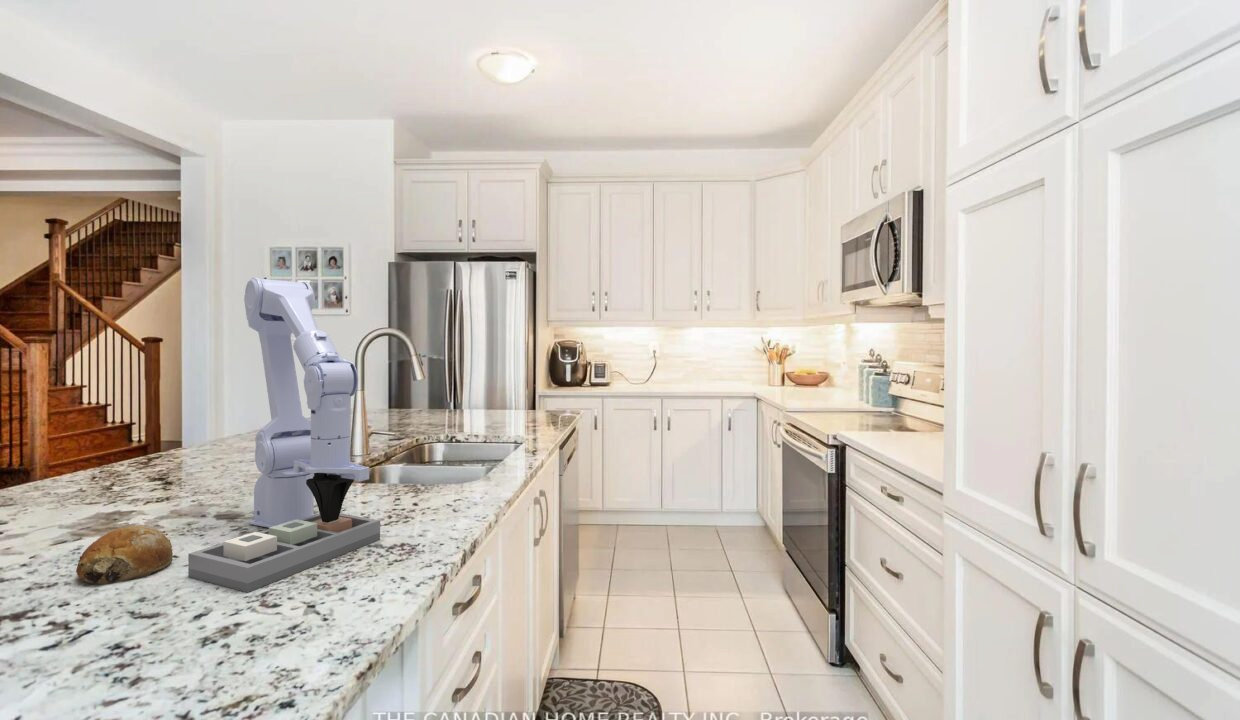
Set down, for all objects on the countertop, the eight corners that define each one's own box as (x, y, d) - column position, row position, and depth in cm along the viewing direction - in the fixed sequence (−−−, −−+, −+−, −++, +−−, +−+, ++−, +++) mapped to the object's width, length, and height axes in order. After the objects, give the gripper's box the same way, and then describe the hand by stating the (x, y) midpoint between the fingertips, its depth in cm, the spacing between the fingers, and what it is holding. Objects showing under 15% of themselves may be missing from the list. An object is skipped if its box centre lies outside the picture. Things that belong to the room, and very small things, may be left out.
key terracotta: (307, 535, 89) (307, 522, 89) (331, 527, 93) (331, 514, 93) (328, 539, 87) (328, 526, 87) (351, 531, 92) (352, 518, 92)
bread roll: (175, 593, 80) (201, 535, 83) (97, 588, 71) (128, 523, 74) (130, 582, 83) (155, 527, 86) (49, 576, 74) (81, 515, 77)
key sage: (268, 541, 83) (268, 527, 83) (296, 532, 87) (296, 518, 87) (290, 545, 81) (290, 531, 81) (317, 536, 86) (317, 522, 86)
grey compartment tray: (188, 576, 76) (188, 553, 76) (327, 529, 97) (327, 511, 97) (247, 592, 72) (247, 568, 72) (380, 539, 92) (380, 520, 92)
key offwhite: (223, 555, 77) (223, 540, 77) (255, 545, 81) (255, 531, 81) (245, 561, 75) (245, 545, 75) (277, 550, 80) (277, 535, 80)
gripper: (276, 436, 89) (275, 521, 89) (343, 444, 84) (342, 534, 84) (315, 431, 96) (314, 509, 96) (379, 437, 90) (379, 521, 90)
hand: (330, 520), depth 90 cm, fingers closed, pressing on key terracotta
